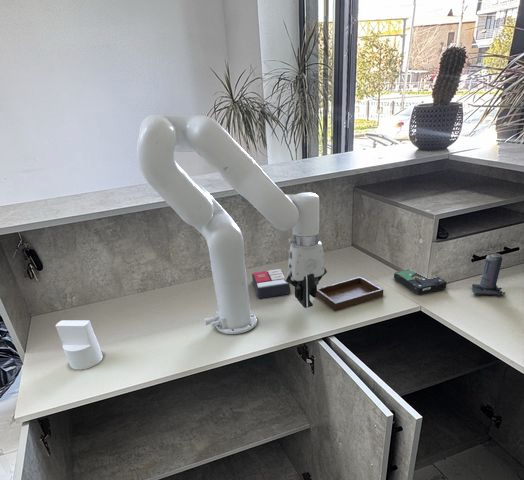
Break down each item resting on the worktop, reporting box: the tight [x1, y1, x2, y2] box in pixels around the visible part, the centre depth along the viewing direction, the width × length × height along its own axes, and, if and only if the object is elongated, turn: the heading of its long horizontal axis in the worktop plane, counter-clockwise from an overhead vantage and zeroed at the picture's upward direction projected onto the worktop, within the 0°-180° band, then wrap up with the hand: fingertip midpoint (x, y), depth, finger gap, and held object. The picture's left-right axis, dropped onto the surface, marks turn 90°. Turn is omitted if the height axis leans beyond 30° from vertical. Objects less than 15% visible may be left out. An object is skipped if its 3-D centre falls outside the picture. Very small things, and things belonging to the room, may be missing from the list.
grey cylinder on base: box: [471, 252, 506, 297], centre depth 132 cm, size 9×8×12 cm
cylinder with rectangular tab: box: [55, 319, 104, 370], centre depth 120 cm, size 9×9×12 cm
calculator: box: [251, 268, 291, 299], centre depth 152 cm, size 11×4×15 cm
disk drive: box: [393, 268, 447, 296], centre depth 144 cm, size 10×3×15 cm
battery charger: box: [296, 274, 315, 309], centre depth 132 cm, size 7×4×11 cm, turn 16°
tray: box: [315, 276, 384, 312], centre depth 141 cm, size 18×13×3 cm
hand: (305, 297), depth 133 cm, fingers closed on battery charger, 4 cm apart
